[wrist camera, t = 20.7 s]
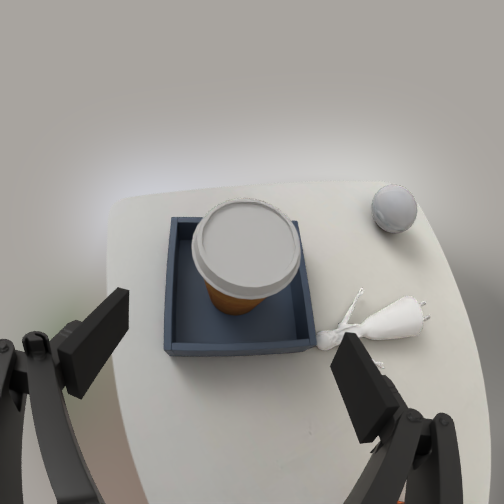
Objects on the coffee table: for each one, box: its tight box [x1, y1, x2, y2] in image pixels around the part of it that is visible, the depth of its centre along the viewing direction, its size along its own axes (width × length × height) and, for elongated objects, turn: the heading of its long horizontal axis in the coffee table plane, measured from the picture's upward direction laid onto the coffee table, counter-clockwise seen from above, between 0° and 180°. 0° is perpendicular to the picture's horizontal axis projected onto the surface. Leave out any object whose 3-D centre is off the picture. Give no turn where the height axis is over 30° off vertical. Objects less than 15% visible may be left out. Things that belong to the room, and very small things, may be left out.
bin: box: [164, 217, 317, 356], centre depth 31 cm, size 16×16×5 cm
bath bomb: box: [372, 185, 417, 233], centre depth 40 cm, size 8×8×8 cm
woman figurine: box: [316, 287, 430, 369], centre depth 32 cm, size 12×4×18 cm
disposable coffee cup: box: [191, 198, 301, 316], centre depth 28 cm, size 10×10×12 cm
